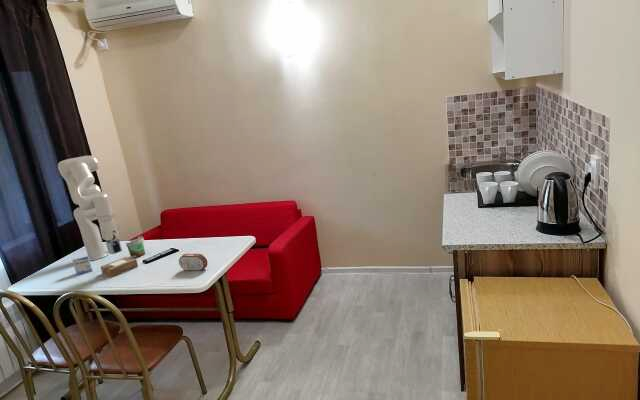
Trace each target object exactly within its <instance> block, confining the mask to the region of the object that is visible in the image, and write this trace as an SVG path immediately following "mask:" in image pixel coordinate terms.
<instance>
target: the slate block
mask: <svg viewBox="0 0 640 400" xmlns="http://www.w3.org/2000/svg"><path fill="white" fill-rule="evenodd" d="M114 241H115V240H114ZM105 244H106V249H107V252H108V255H109V254H110V255H115V254H118V253H120V252H123V249H122V245H121V241H120V240H119V245H120V249H121V251H119V252H116V253H115V252H114V249H113V243H112V241H109V242H107V241H105Z"/></svg>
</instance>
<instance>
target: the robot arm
mask: <svg viewBox="0 0 640 400" xmlns="http://www.w3.org/2000/svg"><path fill="white" fill-rule="evenodd" d="M57 168H58V169H57V170H58V171H59V173H60V176H61V177H62V178H63V179H64V180H65V183H66V185H67V187H68V188H67V189H68V191H69V194H70V197H71V200H72V202H73V204H75V205H78V206H79V207H77V208H75V209H74V210H73V217H74V219H75V221H76V223H77V226H78V228H79V231H80V234H81V237H82V241H83V244H84V248H85V251H86V255H89V259H90V262H91V261H97V260H99V259H102V258H105V257H106V256H108V255H109V253H108V250H107V251H106V250H105V247H104V243H103V240H105V242H109V241H112V243H113V249H114V252H115V253H116V252H118V253H120V252H119V251H121V249H120V245H121V244H120V245H119V241H120V235H119V231H118V228H117V225H116V222H115V216H114V213H113V208H112V205H111V201H110V199H109V196H108V194H107V193H105V192H102V190H101V188H100V186H99V185H97V184H94V183H95V177H94V175H93V173H92V172H96V171H98V170H99V169H100V164H99V161H98V159H97V158H96V157H95V156H93V155H83V156H78V157H72V158H67V159H64V160H62V161H59V162H58V163H57ZM96 220H97V221H98V223H99V227H98V225H97V224H96V223H94V222H93V221H96ZM114 240H115V241H114ZM121 252H122V251H121ZM116 254H117V253H116Z"/></svg>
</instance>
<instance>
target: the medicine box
mask: <svg viewBox="0 0 640 400" xmlns="http://www.w3.org/2000/svg"><path fill="white" fill-rule="evenodd" d="M72 264H73V268H74V270H75V274H76V276H79V275H83V274H87V273H91V272H93V266H92V263H91V261H90V259H89V255H87V254H86V255H81V256H77V257H74V258H72Z"/></svg>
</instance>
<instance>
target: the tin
mask: <svg viewBox="0 0 640 400" xmlns="http://www.w3.org/2000/svg"><path fill="white" fill-rule="evenodd" d="M178 264H179V266H180V268H181V269H182V270H184V271H187V272H195V271H196V272H200V271H203V270H205V269H206V268H207V267H208V264H209V263H208V259H207V258H206V257H205V255H203V254H201V253H183V254H182V256H180V257H179V258H178Z"/></svg>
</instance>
